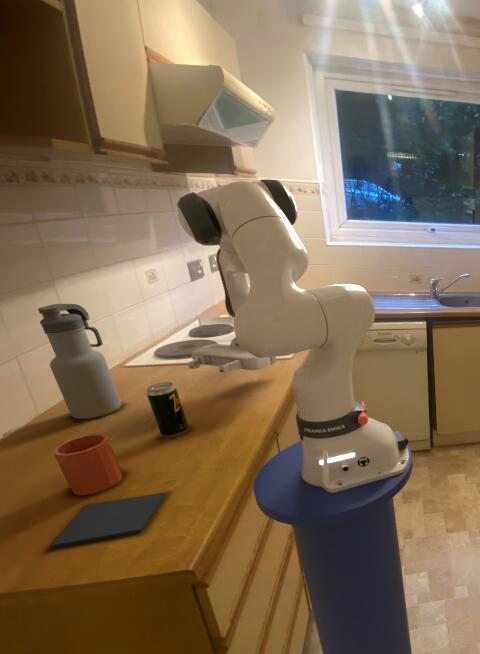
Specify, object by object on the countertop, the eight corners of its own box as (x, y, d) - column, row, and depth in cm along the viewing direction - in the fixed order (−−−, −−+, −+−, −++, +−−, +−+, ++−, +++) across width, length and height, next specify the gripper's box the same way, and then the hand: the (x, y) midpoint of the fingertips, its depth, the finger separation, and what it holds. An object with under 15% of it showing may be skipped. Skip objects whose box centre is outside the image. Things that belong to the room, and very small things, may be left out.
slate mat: (165, 495, 82) (164, 492, 82) (141, 532, 73) (140, 529, 73) (87, 507, 79) (86, 504, 78) (52, 548, 70) (51, 545, 70)
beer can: (158, 440, 100) (141, 393, 95) (164, 429, 104) (148, 384, 100) (186, 435, 102) (171, 389, 97) (191, 424, 106) (177, 380, 102)
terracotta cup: (129, 469, 89) (114, 431, 86) (111, 491, 83) (94, 451, 79) (85, 475, 87) (68, 437, 84) (63, 498, 81) (43, 458, 77)
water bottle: (96, 401, 117) (55, 300, 106) (133, 401, 117) (96, 300, 106) (60, 420, 108) (12, 310, 97) (100, 420, 108) (56, 311, 97)
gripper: (215, 335, 123) (169, 352, 110) (277, 342, 118) (236, 360, 106) (220, 356, 125) (176, 374, 113) (281, 363, 121) (242, 383, 108)
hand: (206, 367), depth 109 cm, fingers open, 8 cm apart
